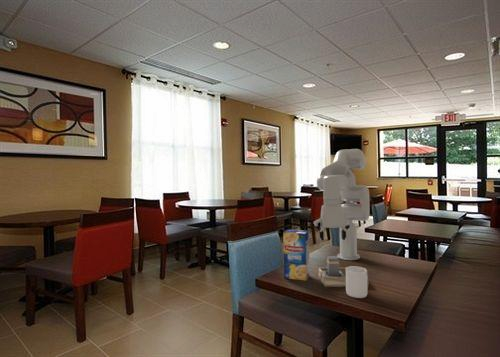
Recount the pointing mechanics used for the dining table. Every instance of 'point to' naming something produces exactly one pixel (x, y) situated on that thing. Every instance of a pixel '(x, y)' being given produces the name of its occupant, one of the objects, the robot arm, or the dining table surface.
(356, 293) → the mug
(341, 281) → the box
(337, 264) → the block
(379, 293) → the dining table surface
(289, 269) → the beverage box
